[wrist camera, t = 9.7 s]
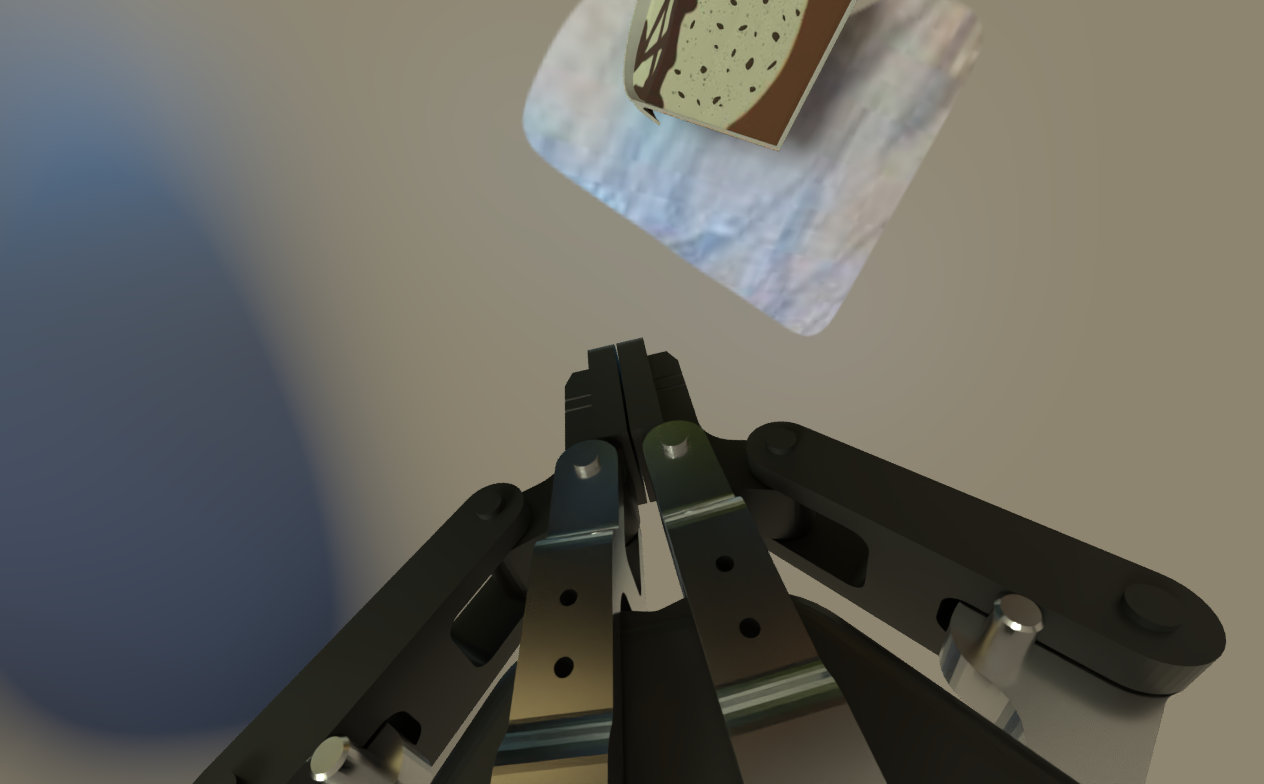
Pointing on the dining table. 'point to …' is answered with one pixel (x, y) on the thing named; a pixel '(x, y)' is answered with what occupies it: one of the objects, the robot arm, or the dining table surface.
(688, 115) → the food container
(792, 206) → the dining table surface
